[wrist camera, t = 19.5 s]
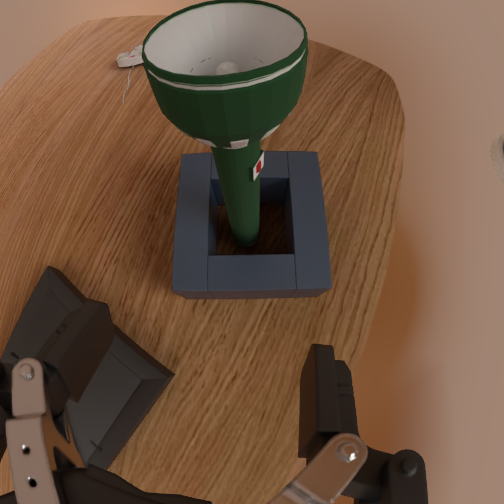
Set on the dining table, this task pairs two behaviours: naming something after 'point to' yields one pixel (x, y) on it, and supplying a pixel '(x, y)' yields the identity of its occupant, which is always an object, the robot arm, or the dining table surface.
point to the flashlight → (229, 88)
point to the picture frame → (104, 379)
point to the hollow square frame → (252, 266)
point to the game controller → (130, 59)
